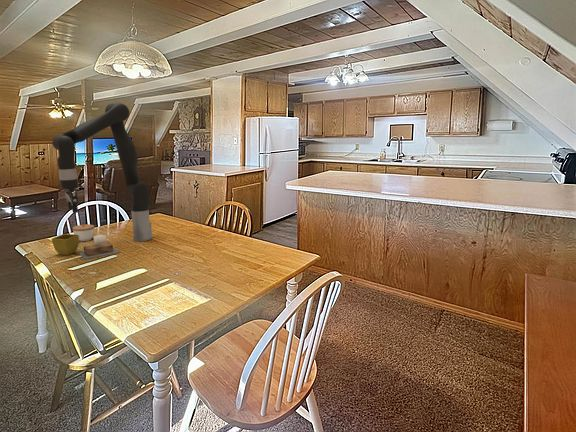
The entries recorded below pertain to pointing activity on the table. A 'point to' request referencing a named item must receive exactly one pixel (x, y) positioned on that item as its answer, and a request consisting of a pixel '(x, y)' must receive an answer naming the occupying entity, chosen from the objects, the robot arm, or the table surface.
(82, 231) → the lidded jar
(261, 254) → the table surface
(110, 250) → the lid
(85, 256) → the mat
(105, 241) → the cream rounded block
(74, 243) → the flower pot
